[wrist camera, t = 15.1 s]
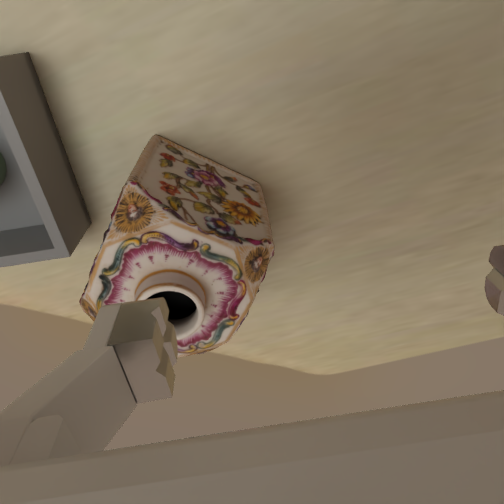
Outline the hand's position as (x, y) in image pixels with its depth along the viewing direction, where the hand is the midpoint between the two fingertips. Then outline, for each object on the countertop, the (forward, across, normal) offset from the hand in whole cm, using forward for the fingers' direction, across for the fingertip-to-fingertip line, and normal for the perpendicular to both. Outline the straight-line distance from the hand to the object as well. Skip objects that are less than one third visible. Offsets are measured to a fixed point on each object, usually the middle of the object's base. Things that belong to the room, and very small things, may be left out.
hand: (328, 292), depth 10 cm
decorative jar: (+31, +8, +10) cm, 34 cm away
